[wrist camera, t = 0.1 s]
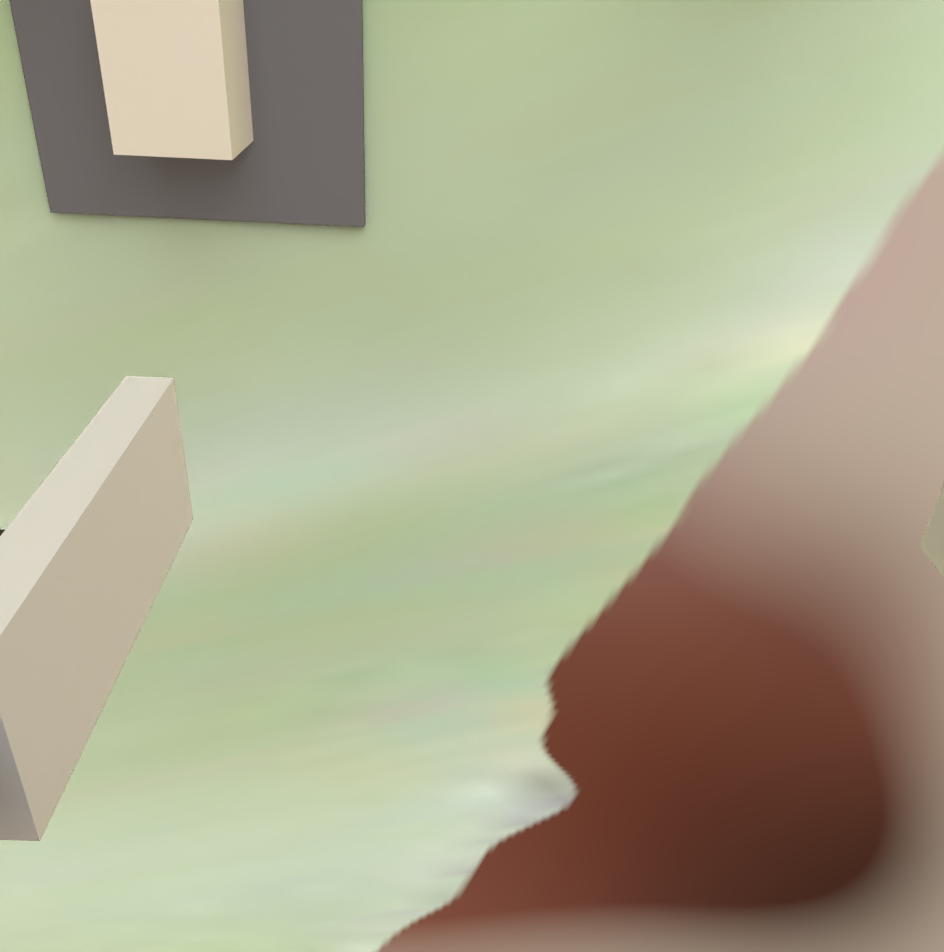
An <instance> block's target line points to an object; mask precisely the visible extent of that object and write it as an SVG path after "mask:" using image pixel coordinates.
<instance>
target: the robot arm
mask: <svg viewBox="0 0 944 952" xmlns="http://www.w3.org/2000/svg"><path fill="white" fill-rule="evenodd" d="M192 520H193V515H192V508H191V501H190V493H189V486H188V479H187V471H186V464H185V457H184V449H183V442H182V435H181V427H180V420H179V413H178V406H177V398H176V391H175V384H174V378H165V377H141V376H126V377H125V378H124V379H123V380H122V382H121V383H120V384H119V386H118V387H117V388H116V389H115V391H114V392H113V393H112V395H111V396H110V397H109V398H108V400H107V401H106V402H105V403H104V405H103V406H102V407H101V409H100V410H99V411H98V412H97V414H96V415H95V416H94V417H93V419H92V420H91V421H90V423H89V424H88V425H87V426H86V428H85V429H84V430H83V431H82V433H81V434H80V435H79V437H78V438H77V439H76V440H75V442H74V443H73V444H72V445H71V447H70V448H69V449H68V451H67V452H66V453H65V454H64V456H63V457H62V458H61V460H60V461H59V462H58V463H57V465H56V466H55V467H54V468H53V470H52V471H51V472H50V474H49V475H48V476H47V477H46V479H45V480H44V481H43V482H42V484H41V485H40V486H39V488H38V489H37V490H36V491H35V493H34V494H33V495H32V496H31V498H30V499H29V500H28V502H27V503H26V504H25V505H24V507H23V508H22V509H21V510H20V512H19V513H18V514H17V516H16V517H15V518H14V519H13V521H12V522H11V523H10V524H9V526H8V527H7V528H6V530H0V840H28V841H40V839H41V837H42V835H43V833H44V831H45V829H46V827H47V825H48V823H49V821H50V818H51V816H52V814H53V812H54V810H55V808H56V806H57V804H58V802H59V800H60V797H61V795H62V793H63V791H64V789H65V787H66V785H67V783H68V781H69V779H70V776H71V774H72V772H73V770H74V768H75V766H76V764H77V762H78V760H79V758H80V755H81V753H82V751H83V749H84V747H85V745H86V743H87V741H88V739H89V737H90V734H91V732H92V730H93V728H94V726H95V724H96V722H97V720H98V718H99V716H100V713H101V711H102V709H103V707H104V705H105V703H106V701H107V699H108V697H109V695H110V692H111V690H112V688H113V686H114V684H115V682H116V680H117V678H118V676H119V674H120V672H121V669H122V667H123V665H124V663H125V661H126V659H127V657H128V655H129V653H130V651H131V648H132V646H133V644H134V642H135V640H136V638H137V636H138V634H139V632H140V630H141V627H142V625H143V623H144V621H145V619H146V617H147V615H148V613H149V611H150V609H151V606H152V604H153V602H154V600H155V598H156V596H157V594H158V592H159V590H160V588H161V585H162V583H163V581H164V579H165V577H166V575H167V573H168V571H169V569H170V567H171V564H172V562H173V560H174V558H175V556H176V554H177V552H178V550H179V548H180V546H181V543H182V541H183V539H184V537H185V535H186V533H187V531H188V529H189V527H190V525H191V522H192ZM920 546H921V548H922V549H923V551H924V552H925V553H926V554H927V556H928V557H929V559H930V560H931V561H932V563H933V564H934V565H935V567H936V568H937V569H938V571H939V572H940V574H941V575H942V576H943V578H944V483H943V486H942V488H941V491H940V494H939V496H938V499H937V502H936V505H935V507H934V510H933V513H932V515H931V518H930V521H929V524H928V526H927V529H926V532H925V534H924V537H923V540H922V543H921V545H920Z"/></svg>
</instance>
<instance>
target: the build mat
mask: <svg viewBox="0 0 944 952" xmlns="http://www.w3.org/2000/svg"><path fill="white" fill-rule="evenodd" d="M10 5H11V10H12V16H13V21H14V26H15V31H16V36H17V42H18V47H19V52H20V57H21V62H22V68H23V73H24V78H25V83H26V88H27V93H28V99H29V104H30V109H31V114H32V119H33V125H34V130H35V135H36V140H37V145H38V151H39V156H40V161H41V166H42V171H43V176H44V182H45V187H46V192H47V197H48V202H49V208H50V212H54V213H76V214H97V215H119V216H140V217H162V218H183V219H205V220H226V221H247V222H269V223H290V224H312V225H333V226H355V227H364V226H365V161H364V89H363V17H362V0H10Z"/></svg>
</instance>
